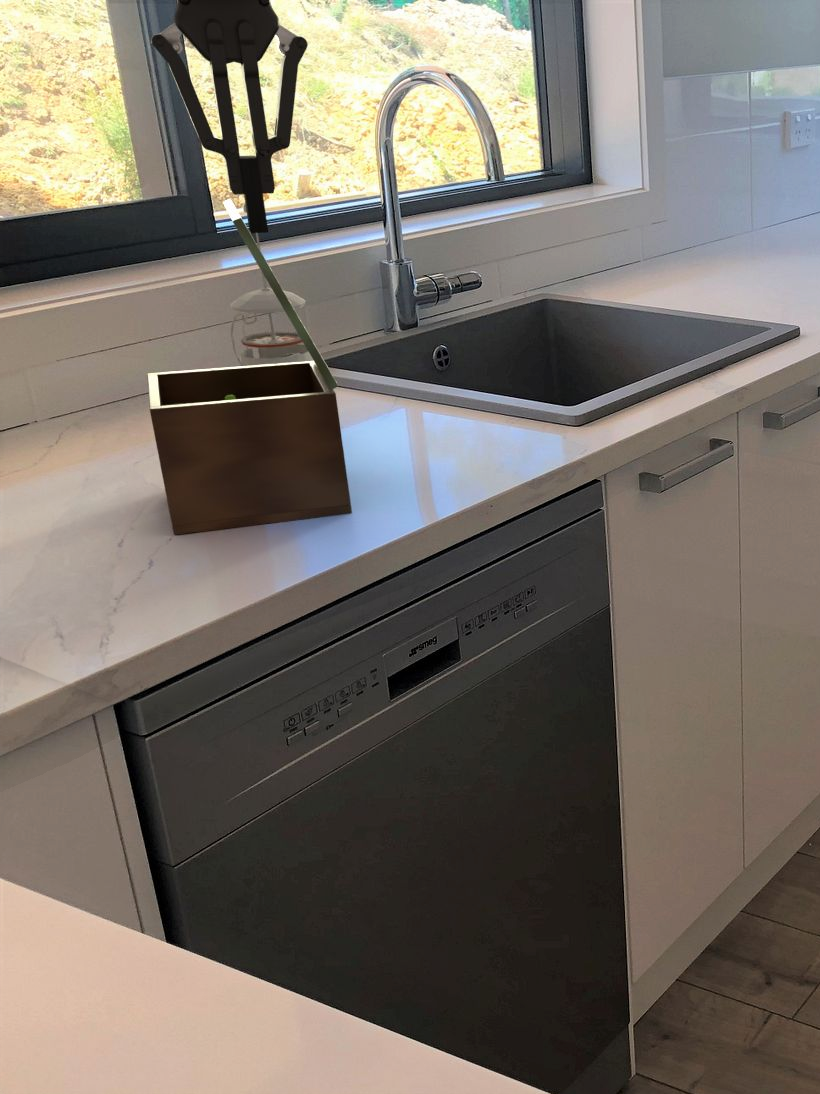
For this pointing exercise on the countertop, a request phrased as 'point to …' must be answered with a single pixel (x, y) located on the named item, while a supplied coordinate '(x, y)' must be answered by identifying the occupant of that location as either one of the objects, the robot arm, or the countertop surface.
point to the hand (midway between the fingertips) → (258, 230)
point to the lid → (279, 293)
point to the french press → (271, 343)
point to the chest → (248, 445)
